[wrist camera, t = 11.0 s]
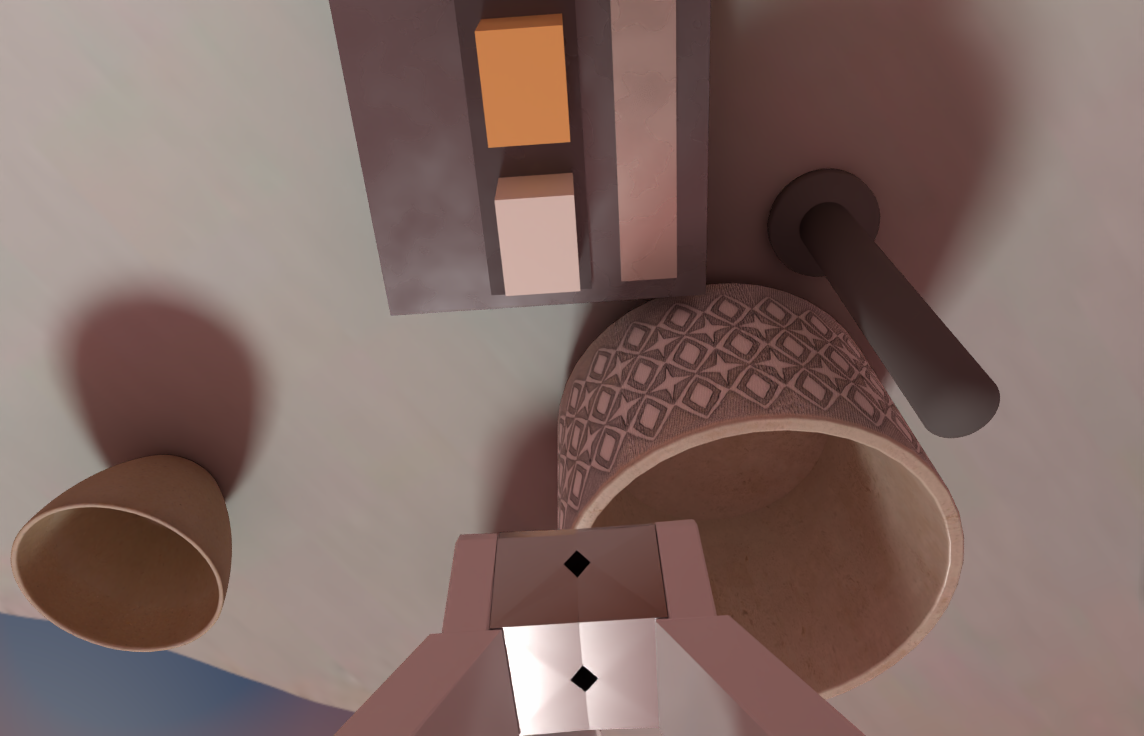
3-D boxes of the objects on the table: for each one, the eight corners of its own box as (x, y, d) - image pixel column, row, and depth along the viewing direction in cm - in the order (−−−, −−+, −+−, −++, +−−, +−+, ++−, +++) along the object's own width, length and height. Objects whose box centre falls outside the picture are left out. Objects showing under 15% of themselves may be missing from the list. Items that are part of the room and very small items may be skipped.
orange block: (561, 12, 31) (562, 25, 29) (569, 122, 33) (570, 141, 31) (481, 18, 31) (474, 31, 29) (493, 127, 33) (488, 147, 31)
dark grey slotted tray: (697, -253, 31) (716, -269, 27) (693, 258, 41) (706, 297, 37) (313, -222, 31) (280, -235, 27) (404, 277, 41) (389, 318, 37)
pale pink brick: (572, 172, 34) (573, 194, 32) (578, 263, 36) (580, 291, 34) (498, 177, 34) (494, 200, 32) (509, 267, 36) (505, 296, 34)
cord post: (880, 165, 39) (1060, 329, 25) (867, 265, 41) (1025, 466, 27) (770, 172, 39) (888, 340, 25) (764, 272, 41) (869, 475, 27)
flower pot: (56, 418, 45) (-23, 505, 39) (245, 415, 45) (196, 501, 39) (111, 558, 50) (48, 655, 44) (280, 555, 50) (241, 652, 44)
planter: (518, 488, 48) (507, 671, 37) (622, 228, 40) (647, 363, 29) (779, 556, 51) (841, 745, 40) (924, 327, 43) (1049, 484, 32)
